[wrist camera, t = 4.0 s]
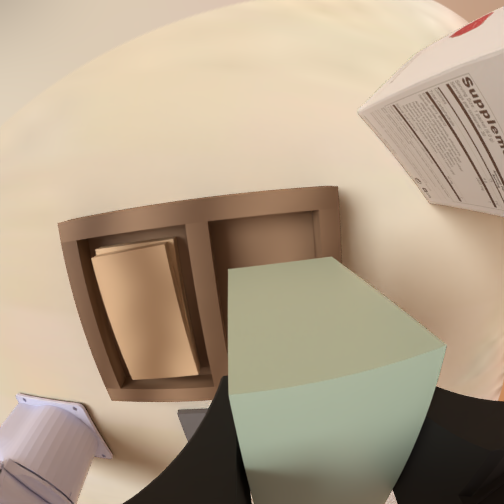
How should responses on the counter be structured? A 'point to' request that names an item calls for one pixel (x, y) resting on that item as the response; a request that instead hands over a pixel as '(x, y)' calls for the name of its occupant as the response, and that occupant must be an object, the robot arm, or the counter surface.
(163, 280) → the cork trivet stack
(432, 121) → the supplement box
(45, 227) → the counter surface
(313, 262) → the pale green rectangular block
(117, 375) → the walnut rack
